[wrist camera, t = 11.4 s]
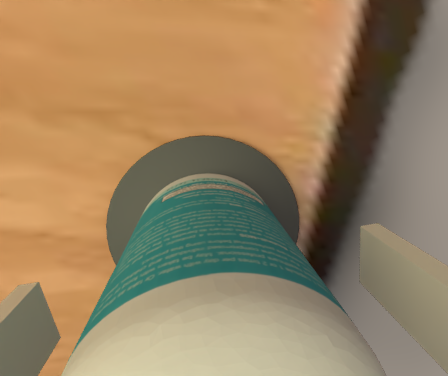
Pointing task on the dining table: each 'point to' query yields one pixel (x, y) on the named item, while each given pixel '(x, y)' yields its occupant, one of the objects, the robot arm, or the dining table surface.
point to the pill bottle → (217, 296)
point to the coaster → (190, 165)
